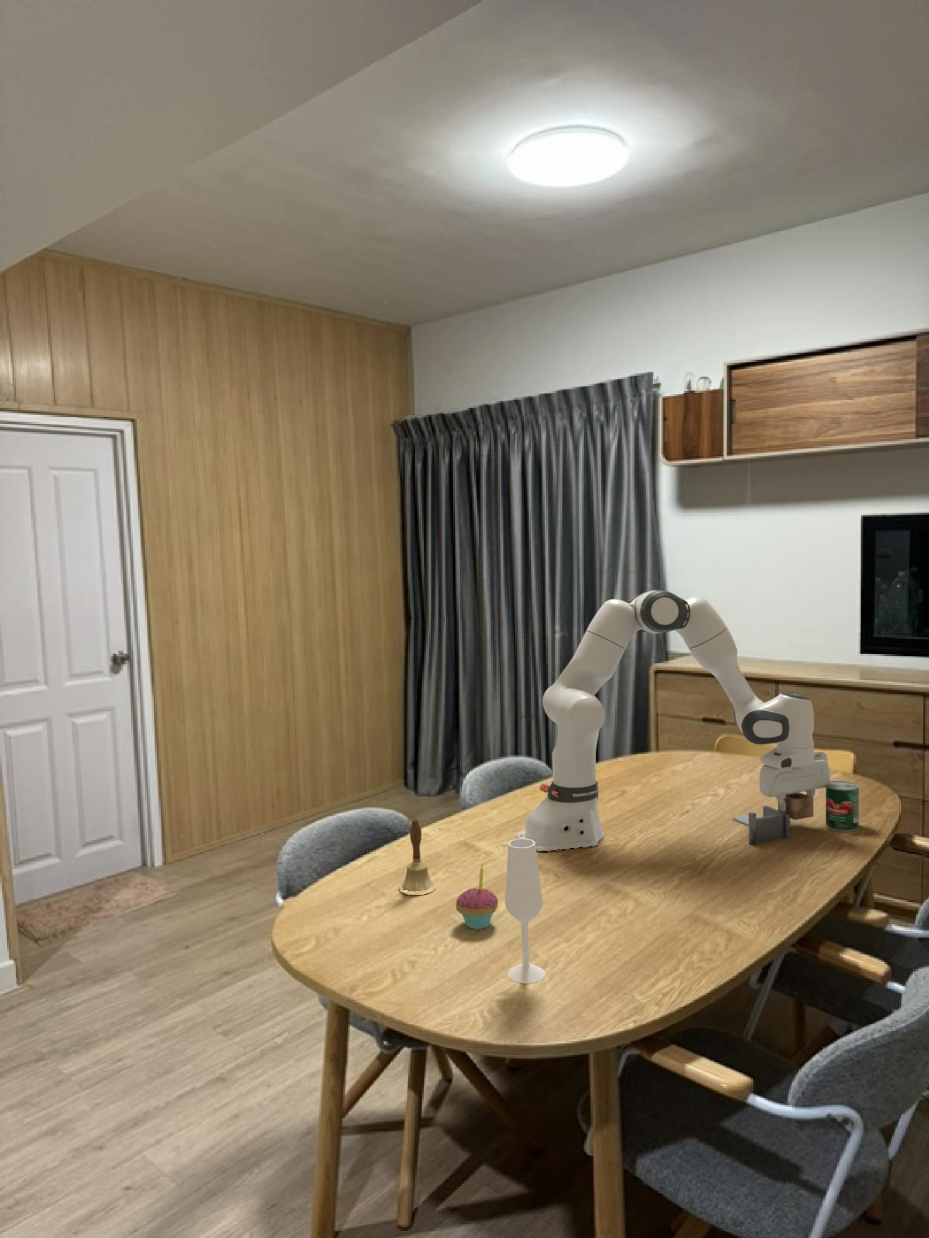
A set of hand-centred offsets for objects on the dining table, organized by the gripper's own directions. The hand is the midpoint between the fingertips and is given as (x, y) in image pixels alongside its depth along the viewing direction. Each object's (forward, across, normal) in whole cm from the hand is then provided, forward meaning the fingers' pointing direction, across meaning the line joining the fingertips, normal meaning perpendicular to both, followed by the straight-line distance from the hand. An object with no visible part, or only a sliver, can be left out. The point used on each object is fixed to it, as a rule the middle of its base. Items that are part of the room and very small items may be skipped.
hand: (795, 808), depth 220 cm
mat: (+5, +6, -10) cm, 12 cm away
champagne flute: (+6, +94, +36) cm, 101 cm away
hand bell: (+6, +100, -9) cm, 100 cm away
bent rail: (+5, +12, +1) cm, 13 cm away
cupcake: (+6, +94, +14) cm, 96 cm away
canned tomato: (+6, -11, +4) cm, 13 cm away
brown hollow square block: (+2, 0, 0) cm, 2 cm away
